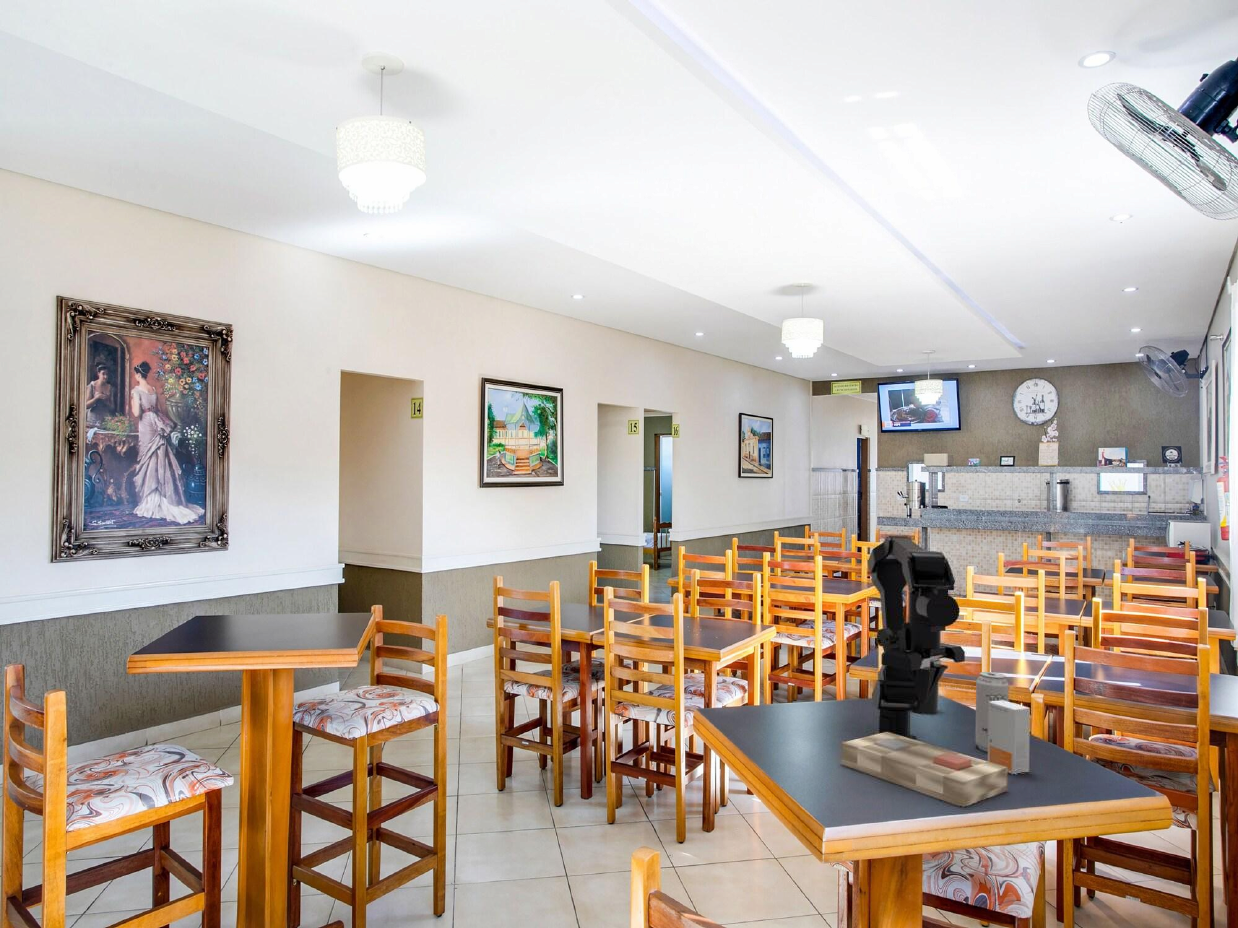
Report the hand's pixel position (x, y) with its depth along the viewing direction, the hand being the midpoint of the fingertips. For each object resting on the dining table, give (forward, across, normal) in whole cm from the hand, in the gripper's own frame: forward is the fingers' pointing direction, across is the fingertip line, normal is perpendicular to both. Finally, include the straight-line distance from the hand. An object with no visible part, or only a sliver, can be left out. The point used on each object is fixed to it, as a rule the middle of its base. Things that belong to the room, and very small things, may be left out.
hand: (923, 702), depth 147 cm
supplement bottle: (+12, -38, -24) cm, 47 cm away
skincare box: (+12, -14, +9) cm, 21 cm away
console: (+12, +5, +3) cm, 13 cm away
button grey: (+11, +5, -3) cm, 12 cm away
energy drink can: (+12, -23, +1) cm, 26 cm away
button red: (+10, +5, +9) cm, 15 cm away
